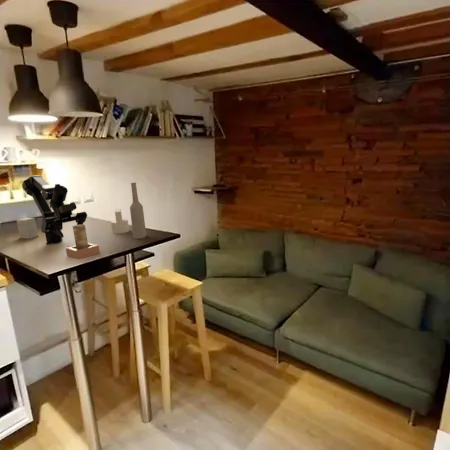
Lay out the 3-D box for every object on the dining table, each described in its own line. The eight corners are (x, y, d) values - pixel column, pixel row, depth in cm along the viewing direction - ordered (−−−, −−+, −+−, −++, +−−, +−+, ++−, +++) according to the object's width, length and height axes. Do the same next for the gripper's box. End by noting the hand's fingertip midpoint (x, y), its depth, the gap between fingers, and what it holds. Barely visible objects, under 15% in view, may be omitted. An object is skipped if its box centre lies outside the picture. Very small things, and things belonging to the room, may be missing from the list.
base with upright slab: (129, 232, 185) (126, 211, 182) (112, 234, 182) (109, 212, 180) (128, 228, 193) (126, 208, 190) (112, 230, 191) (109, 210, 188)
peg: (75, 255, 148) (70, 227, 145) (81, 252, 153) (76, 224, 150) (85, 255, 148) (81, 227, 144) (91, 252, 152) (87, 224, 149)
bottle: (139, 234, 178) (133, 182, 172) (149, 235, 175) (143, 182, 168) (130, 238, 173) (123, 183, 166) (140, 239, 169) (133, 183, 163)
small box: (38, 236, 188) (35, 217, 185) (29, 239, 183) (25, 220, 180) (29, 235, 191) (25, 217, 189) (19, 238, 186) (15, 219, 184)
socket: (79, 259, 143) (77, 251, 142) (66, 255, 149) (65, 248, 148) (99, 252, 151) (98, 245, 150) (87, 249, 157) (86, 242, 156)
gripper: (40, 200, 146) (55, 228, 142) (82, 194, 160) (96, 219, 155) (37, 216, 154) (51, 243, 149) (77, 209, 167) (91, 233, 162)
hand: (73, 234), depth 153 cm, fingers open, 9 cm apart
